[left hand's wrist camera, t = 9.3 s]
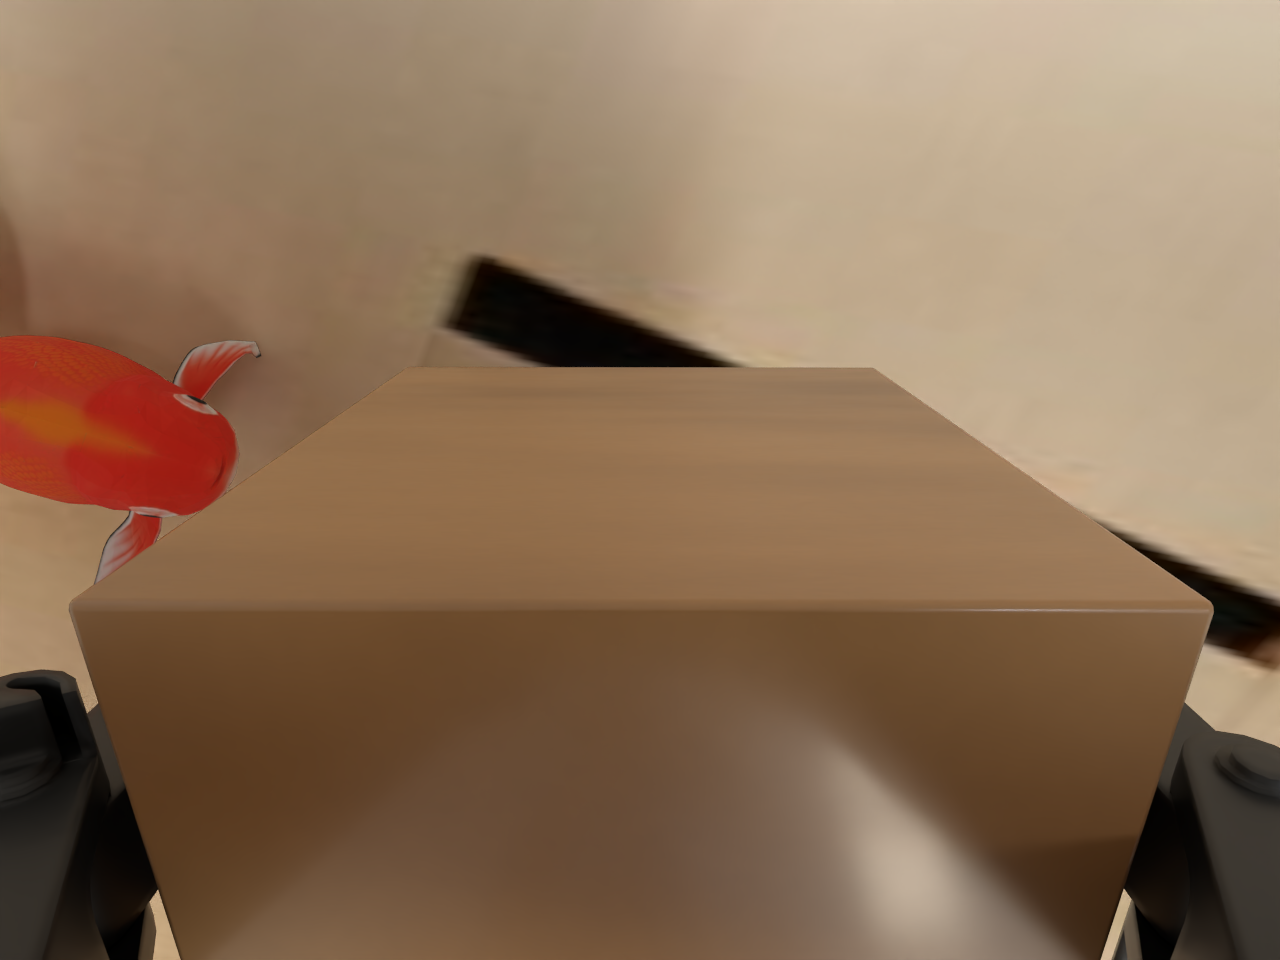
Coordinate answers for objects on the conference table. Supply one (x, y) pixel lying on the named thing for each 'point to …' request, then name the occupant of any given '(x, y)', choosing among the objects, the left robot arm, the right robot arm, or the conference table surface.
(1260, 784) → the left robot arm
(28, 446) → the fish
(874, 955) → the box
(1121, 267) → the conference table surface
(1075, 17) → the conference table surface
